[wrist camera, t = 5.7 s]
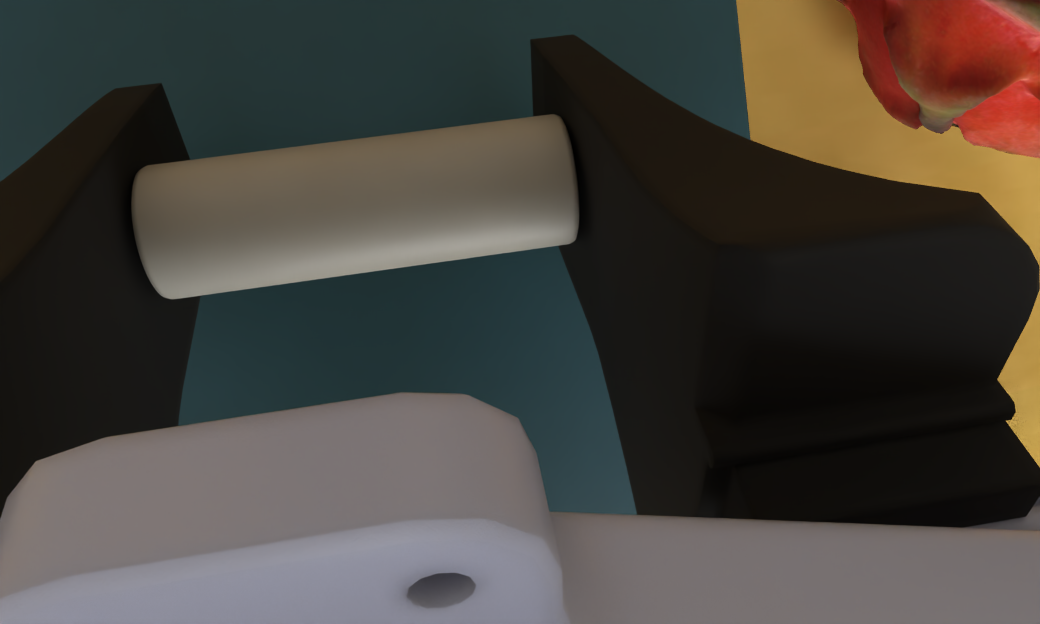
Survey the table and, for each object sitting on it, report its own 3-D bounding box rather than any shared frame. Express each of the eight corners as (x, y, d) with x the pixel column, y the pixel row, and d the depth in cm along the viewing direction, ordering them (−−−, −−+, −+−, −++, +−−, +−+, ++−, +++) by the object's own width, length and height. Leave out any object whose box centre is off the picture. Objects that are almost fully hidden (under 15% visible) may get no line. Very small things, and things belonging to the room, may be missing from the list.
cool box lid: (772, 493, 16) (926, 614, 11) (75, 610, 15) (-105, 803, 10) (695, -247, 14) (831, -494, 9) (-85, -176, 13) (-389, -410, 8)
